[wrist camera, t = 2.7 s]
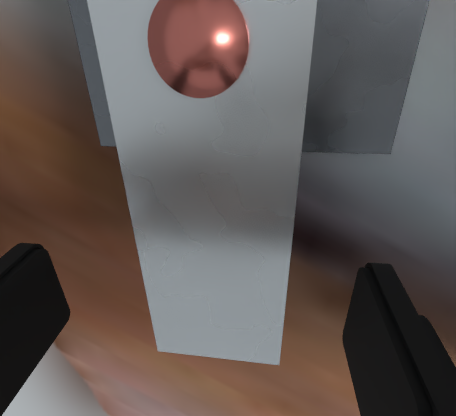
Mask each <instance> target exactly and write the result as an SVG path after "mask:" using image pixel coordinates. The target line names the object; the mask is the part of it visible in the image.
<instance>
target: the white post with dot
mask: <svg viewBox="0 0 456 416" xmlns="http://www.w3.org/2000/svg"><path fill="white" fill-rule="evenodd" d="M87 3H88V8H89V13H90V18H91V23H92V28H93V33H94V38H95V43H96V48H97V53H98V58H99V62H100V67H101V72H102V77H103V82H104V87H105V92H106V97H107V102H108V107H109V112H110V117H111V122H112V127H113V132H114V137H115V142H116V147H117V151H118V156H119V161H120V166H121V171H122V176H123V181H124V186H125V191H126V196H127V201H128V206H129V211H130V216H131V221H132V226H133V231H134V236H135V240H136V245H137V250H138V255H139V260H140V265H141V270H142V275H143V280H144V285H145V290H146V295H147V300H148V305H149V310H150V315H151V320H152V325H153V329H154V334H155V339H156V344H157V349H158V351H161V352H170V353H179V354H187V355H196V356H204V357H213V358H222V359H230V360H239V361H248V362H256V363H265V364H273V365H279V362H280V353H281V343H282V334H283V324H284V315H285V305H286V295H287V286H288V276H289V267H290V257H291V247H292V238H293V228H294V219H295V209H296V199H297V190H298V180H299V171H300V161H301V151H302V142H303V132H304V123H305V113H306V103H307V94H308V84H309V75H310V65H311V56H312V46H313V36H314V27H315V17H316V8H317V0H87Z"/></svg>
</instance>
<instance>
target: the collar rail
mask: <svg viewBox="0 0 456 416" xmlns="http://www.w3.org/2000/svg"><path fill="white" fill-rule="evenodd" d="M68 3H69V7H70V12H71V16H72V21H73V25H74V29H75V34H76V38H77V43H78V47H79V51H80V56H81V60H82V65H83V69H84V73H85V78H86V82H87V86H88V91H89V95H90V100H91V104H92V108H93V113H94V117H95V122H96V126H97V130H98V135H99V139H100V144H101V146H116V142H115V137H114V132H113V127H112V122H111V117H110V112H109V107H108V102H107V97H106V92H105V87H104V82H103V77H102V72H101V67H100V62H99V58H98V53H97V48H96V43H95V38H94V33H93V28H92V23H91V18H90V13H89V8H88V3H87V0H68ZM428 4H429V0H317V8H316V17H315V27H314V36H313V46H312V56H311V65H310V75H309V84H308V94H307V103H306V113H305V123H304V132H303V142H302V151H301V152H336V153H372V154H391V150H392V146H393V142H394V138H395V134H396V130H397V126H398V123H399V119H400V115H401V111H402V107H403V103H404V99H405V95H406V91H407V87H408V83H409V79H410V75H411V71H412V67H413V63H414V59H415V56H416V52H417V48H418V44H419V40H420V36H421V32H422V28H423V24H424V20H425V16H426V12H427V8H428Z"/></svg>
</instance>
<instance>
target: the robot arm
mask: <svg viewBox="0 0 456 416" xmlns="http://www.w3.org/2000/svg"><path fill="white" fill-rule="evenodd" d="M69 317H70V309H69V306H68V304H67V301H66V298H65V296H64V293H63V290H62V288H61V285H60V282H59V280H58V277H57V274H56V272H55V269H54V266H53V264H52V261H51V258H50V256H49V253H48V251H47V250H46V249H44V247H43V246H42V245H40V244H30V243H19V244H17V245H15V246H14V247H13V248H12V249H11V250H9V251H8V252H7V253H6V254H5V255H3V256H2V257H1V258H0V416H2V414H3V412H5V410H6V409H7V407H8V406H9V404H10V403H11V402H12V400H13V399H14V397H15V396H16V394H17V393H18V392H19V390H20V389H21V387H22V386H23V385H24V383H25V382H26V380H27V379H28V377H29V376H30V374H31V373H32V372H33V370H34V369H35V367H36V366H37V364H38V363H39V361H40V360H41V359H42V357H43V356H44V355H45V353H46V351H47V350H48V349H49V347H50V346H51V345H52V343H53V342H54V340H55V339H56V337H57V336H58V335H59V333H60V332H61V330H62V329H63V327H64V326H65V325H66V323H67V322H68V320H69ZM343 345H344V349H345V353H346V357H347V361H348V366H349V370H350V374H351V378H352V382H353V386H354V390H355V394H356V398H357V402H358V406H359V411H360V415H361V416H456V367H455V365H454V364H453V362H452V360H451V358H450V356H449V355H448V353H447V351H446V349H445V348H444V346H443V344H442V342H441V341H440V339H439V337H438V335H437V334H436V332H435V330H434V328H433V326H432V325H431V323H430V322H429V320H428V319H427V318H426V317H424V316H421V315H418V313H417V311H416V309H415V308H414V306H413V304H412V302H411V300H410V298H409V296H408V295H407V293H406V291H405V289H404V287H403V285H402V283H401V282H400V280H399V278H398V276H397V274H396V272H395V271H394V269H393V267H392V266H391V265H390V264H382V263H367V264H366V266H365V268H359V270H358V273H357V277H356V281H355V285H354V289H353V294H352V298H351V302H350V306H349V310H348V314H347V318H346V322H345V326H344V330H343Z"/></svg>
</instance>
